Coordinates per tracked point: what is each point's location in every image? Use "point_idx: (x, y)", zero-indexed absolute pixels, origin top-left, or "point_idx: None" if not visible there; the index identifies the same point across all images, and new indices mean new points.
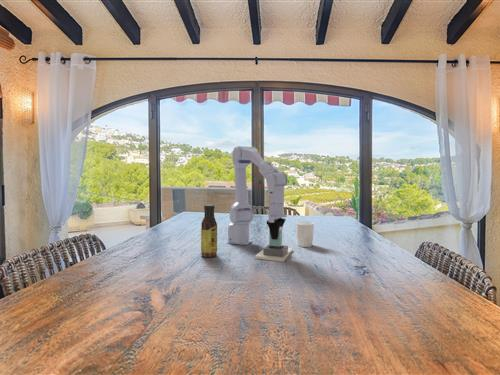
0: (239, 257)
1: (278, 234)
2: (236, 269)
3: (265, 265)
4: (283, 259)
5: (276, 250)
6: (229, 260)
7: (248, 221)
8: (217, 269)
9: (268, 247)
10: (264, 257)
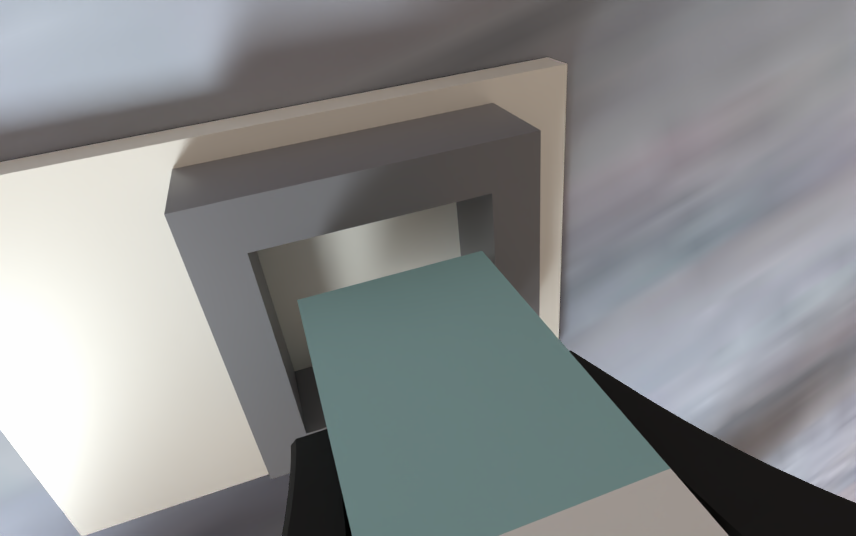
0: None
1: (605, 413)
2: (827, 295)
3: (716, 169)
4: (552, 64)
5: (534, 232)
6: None
7: None
8: (829, 377)
9: None
10: (557, 289)
